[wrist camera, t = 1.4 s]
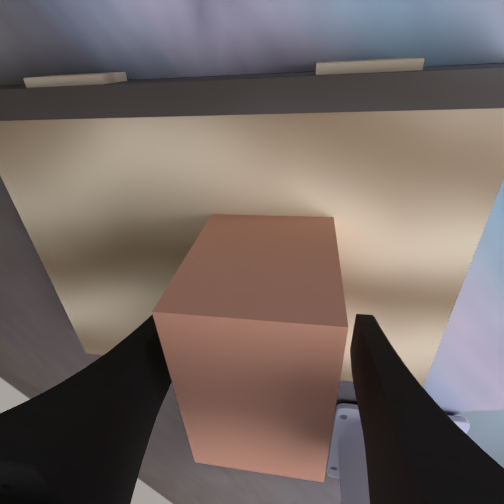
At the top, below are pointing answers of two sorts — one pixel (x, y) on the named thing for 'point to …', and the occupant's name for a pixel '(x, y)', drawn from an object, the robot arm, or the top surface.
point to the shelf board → (259, 182)
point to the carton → (257, 342)
